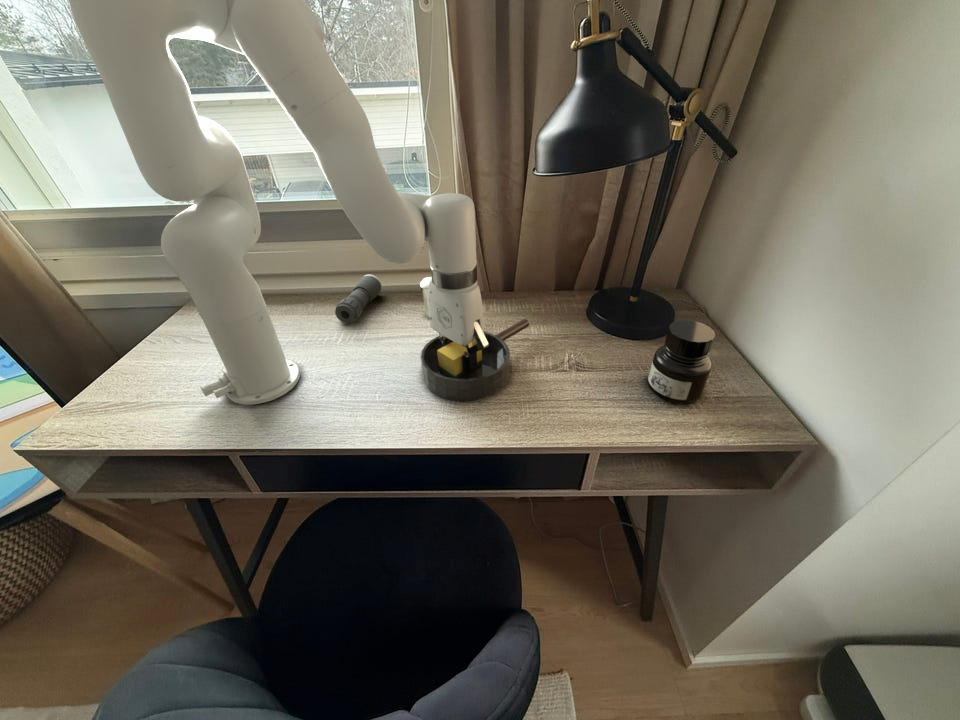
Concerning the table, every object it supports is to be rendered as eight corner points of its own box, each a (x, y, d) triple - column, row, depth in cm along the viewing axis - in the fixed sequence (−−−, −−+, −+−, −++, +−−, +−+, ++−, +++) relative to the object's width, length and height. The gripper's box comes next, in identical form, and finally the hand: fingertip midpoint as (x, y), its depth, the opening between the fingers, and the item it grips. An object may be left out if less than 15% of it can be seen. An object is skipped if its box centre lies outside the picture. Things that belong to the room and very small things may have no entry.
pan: (464, 414, 70) (462, 394, 68) (405, 373, 80) (402, 354, 77) (527, 371, 79) (528, 352, 77) (467, 339, 89) (466, 321, 86)
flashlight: (358, 326, 94) (353, 305, 91) (335, 324, 95) (330, 303, 92) (383, 294, 106) (379, 275, 103) (363, 293, 107) (359, 273, 104)
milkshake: (443, 321, 95) (440, 280, 89) (421, 319, 96) (416, 279, 90) (449, 311, 99) (446, 271, 93) (427, 309, 100) (422, 270, 94)
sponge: (455, 379, 77) (453, 360, 74) (438, 369, 80) (436, 350, 77) (482, 363, 81) (481, 344, 78) (465, 353, 83) (464, 335, 81)
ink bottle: (635, 379, 77) (648, 322, 70) (673, 367, 79) (690, 311, 72) (673, 412, 69) (693, 352, 62) (714, 398, 72) (738, 339, 65)
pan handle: (498, 346, 82) (498, 338, 81) (492, 342, 83) (492, 335, 82) (529, 328, 87) (529, 320, 86) (522, 325, 88) (522, 317, 87)
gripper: (405, 267, 72) (417, 354, 83) (473, 298, 62) (477, 393, 73) (438, 255, 76) (446, 339, 87) (507, 282, 66) (506, 374, 77)
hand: (460, 363), depth 80 cm, fingers closed on sponge, 4 cm apart
